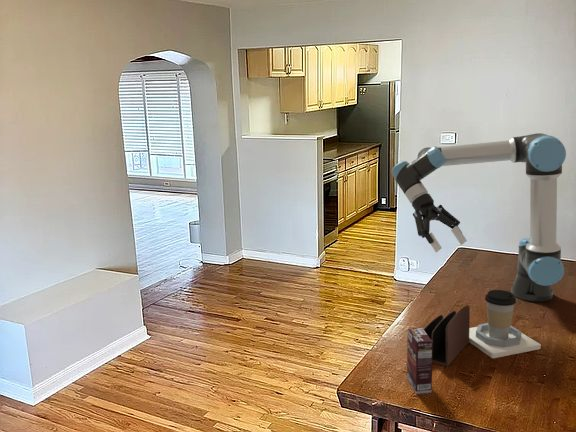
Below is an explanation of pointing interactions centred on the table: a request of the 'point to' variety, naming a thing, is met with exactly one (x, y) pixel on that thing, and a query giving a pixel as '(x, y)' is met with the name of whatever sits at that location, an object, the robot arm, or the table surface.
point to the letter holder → (449, 335)
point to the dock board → (501, 350)
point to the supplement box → (419, 360)
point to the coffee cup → (499, 313)
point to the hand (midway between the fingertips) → (451, 246)
